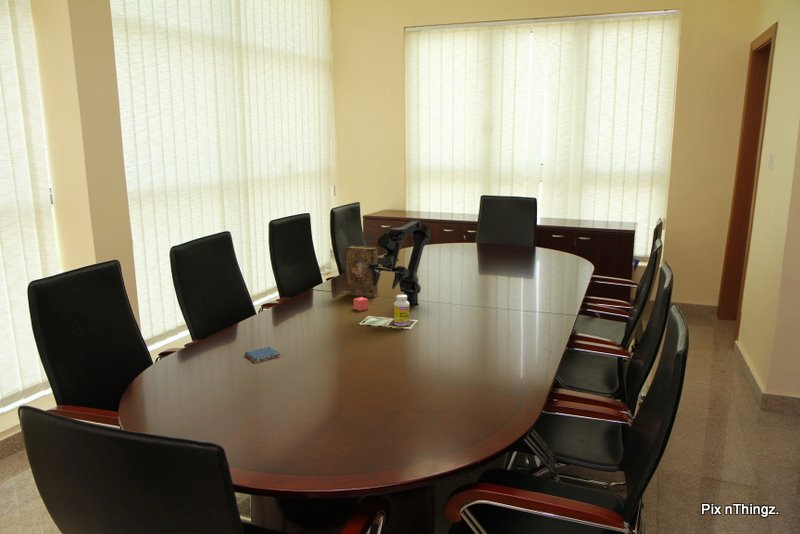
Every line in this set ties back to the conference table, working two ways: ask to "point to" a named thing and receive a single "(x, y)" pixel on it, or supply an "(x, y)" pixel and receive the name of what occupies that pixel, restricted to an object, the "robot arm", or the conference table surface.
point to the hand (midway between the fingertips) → (383, 287)
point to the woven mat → (262, 354)
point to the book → (360, 271)
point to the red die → (361, 303)
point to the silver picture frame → (383, 322)
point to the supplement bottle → (401, 310)
